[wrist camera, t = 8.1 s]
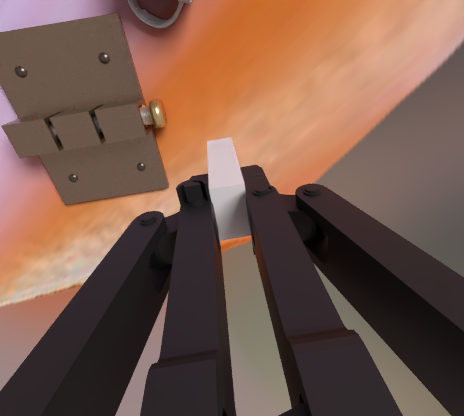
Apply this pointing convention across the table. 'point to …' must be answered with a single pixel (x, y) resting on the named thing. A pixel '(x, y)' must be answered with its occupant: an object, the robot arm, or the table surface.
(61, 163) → the hinge
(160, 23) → the ceramic mug
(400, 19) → the table surface
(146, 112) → the pin
